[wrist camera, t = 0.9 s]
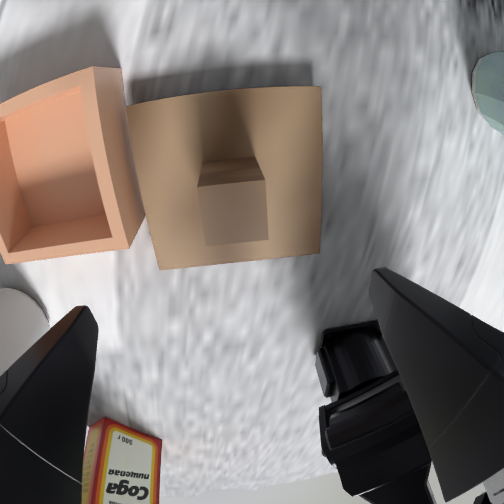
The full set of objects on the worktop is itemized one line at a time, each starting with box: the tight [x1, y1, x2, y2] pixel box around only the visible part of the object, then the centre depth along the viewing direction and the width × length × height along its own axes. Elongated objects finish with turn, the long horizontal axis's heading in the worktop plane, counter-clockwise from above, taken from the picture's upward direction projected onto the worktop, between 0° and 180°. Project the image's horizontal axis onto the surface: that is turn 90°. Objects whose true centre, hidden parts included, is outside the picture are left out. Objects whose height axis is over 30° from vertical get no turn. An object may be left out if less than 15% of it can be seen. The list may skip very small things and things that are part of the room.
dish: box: [0, 66, 146, 264], centre depth 15 cm, size 10×10×4 cm
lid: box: [126, 86, 322, 270], centre depth 16 cm, size 11×11×6 cm
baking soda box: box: [82, 417, 162, 504], centre depth 30 cm, size 10×6×16 cm
